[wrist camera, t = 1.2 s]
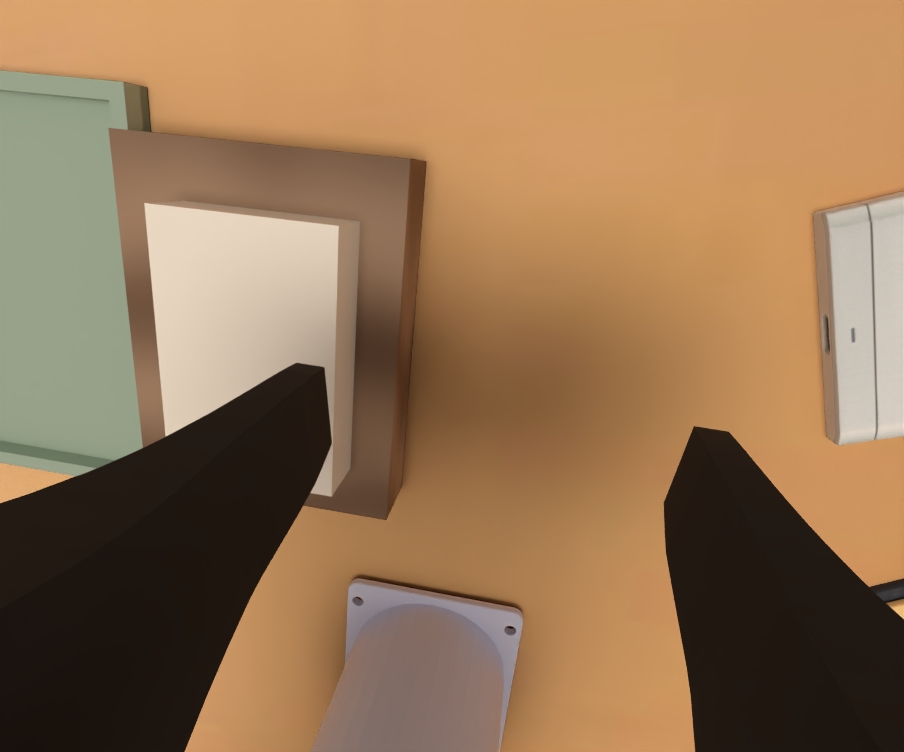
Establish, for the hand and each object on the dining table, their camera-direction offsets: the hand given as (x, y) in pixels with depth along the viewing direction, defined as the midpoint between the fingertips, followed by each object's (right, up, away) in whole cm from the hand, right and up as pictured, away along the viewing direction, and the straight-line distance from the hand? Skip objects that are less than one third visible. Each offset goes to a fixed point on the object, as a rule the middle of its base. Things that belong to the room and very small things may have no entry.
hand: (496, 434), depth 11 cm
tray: (-18, +5, +12) cm, 22 cm away
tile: (-7, +2, +9) cm, 11 cm away
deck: (-7, +3, +11) cm, 14 cm away
